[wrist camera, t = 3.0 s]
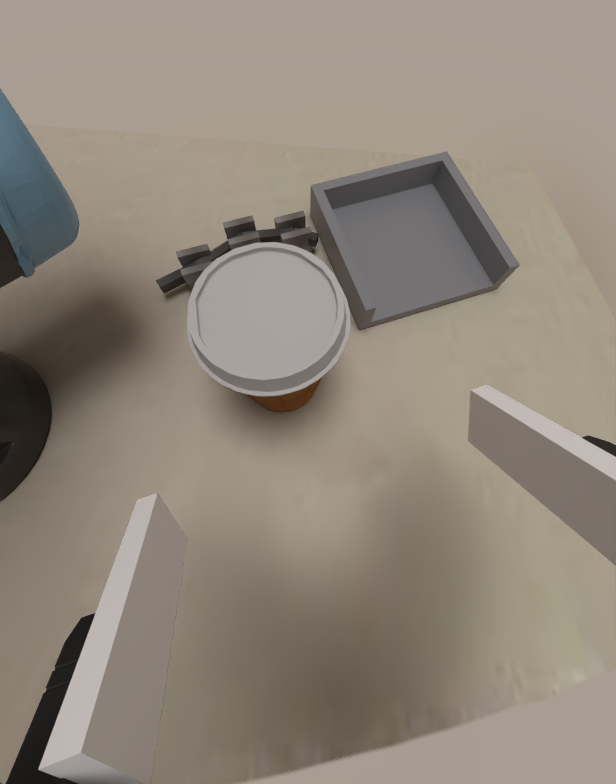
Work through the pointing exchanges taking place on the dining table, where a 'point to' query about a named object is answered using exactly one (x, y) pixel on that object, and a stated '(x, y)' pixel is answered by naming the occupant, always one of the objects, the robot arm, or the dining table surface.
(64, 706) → the robot arm
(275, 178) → the dining table surface
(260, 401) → the disposable coffee cup
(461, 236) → the end holder
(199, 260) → the clip strip
